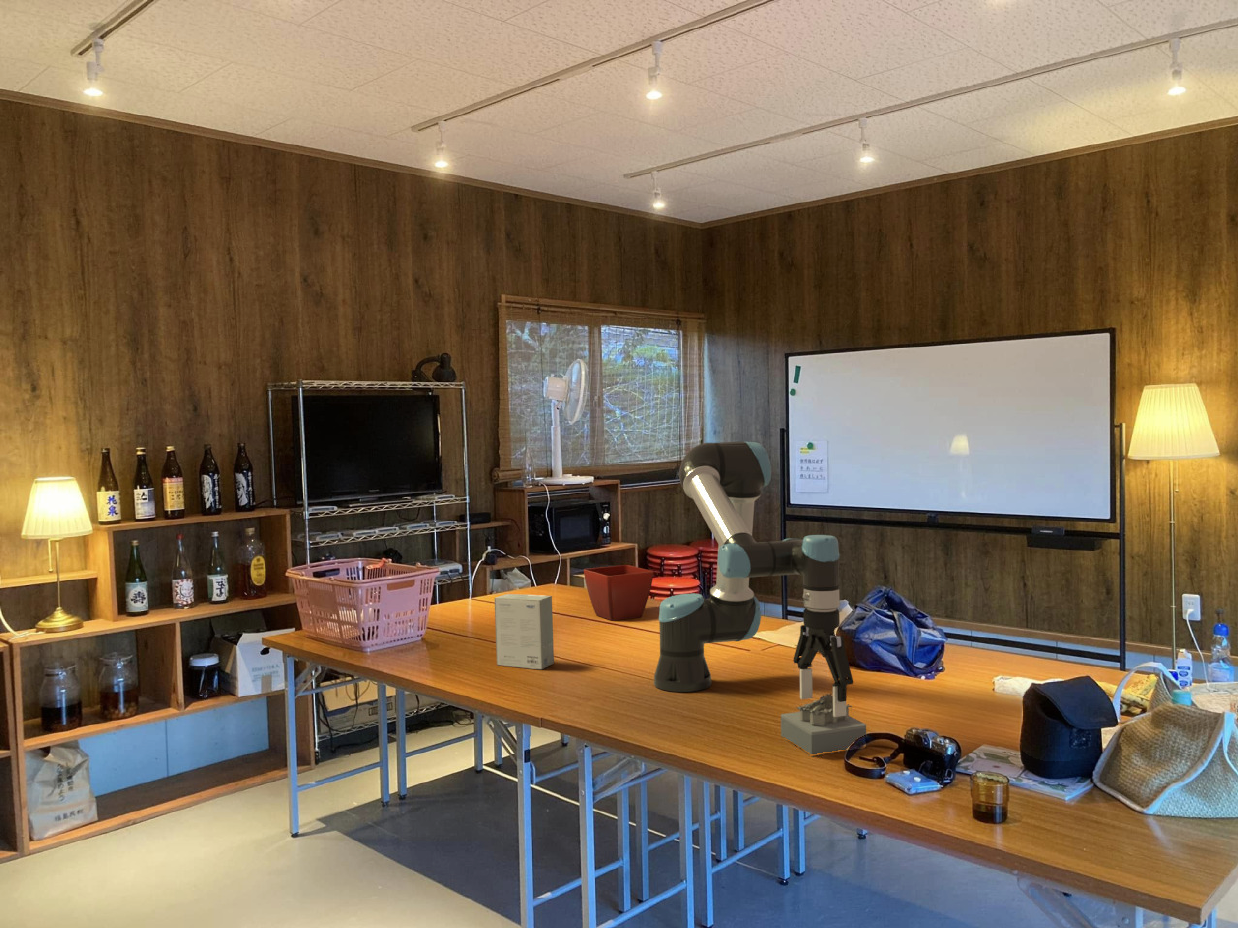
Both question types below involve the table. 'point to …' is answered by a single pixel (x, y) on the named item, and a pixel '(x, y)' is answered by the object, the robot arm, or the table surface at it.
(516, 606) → the hard drive box
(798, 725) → the plinth
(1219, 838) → the table surface
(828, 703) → the egg carton
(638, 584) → the plant pot
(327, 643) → the table surface
